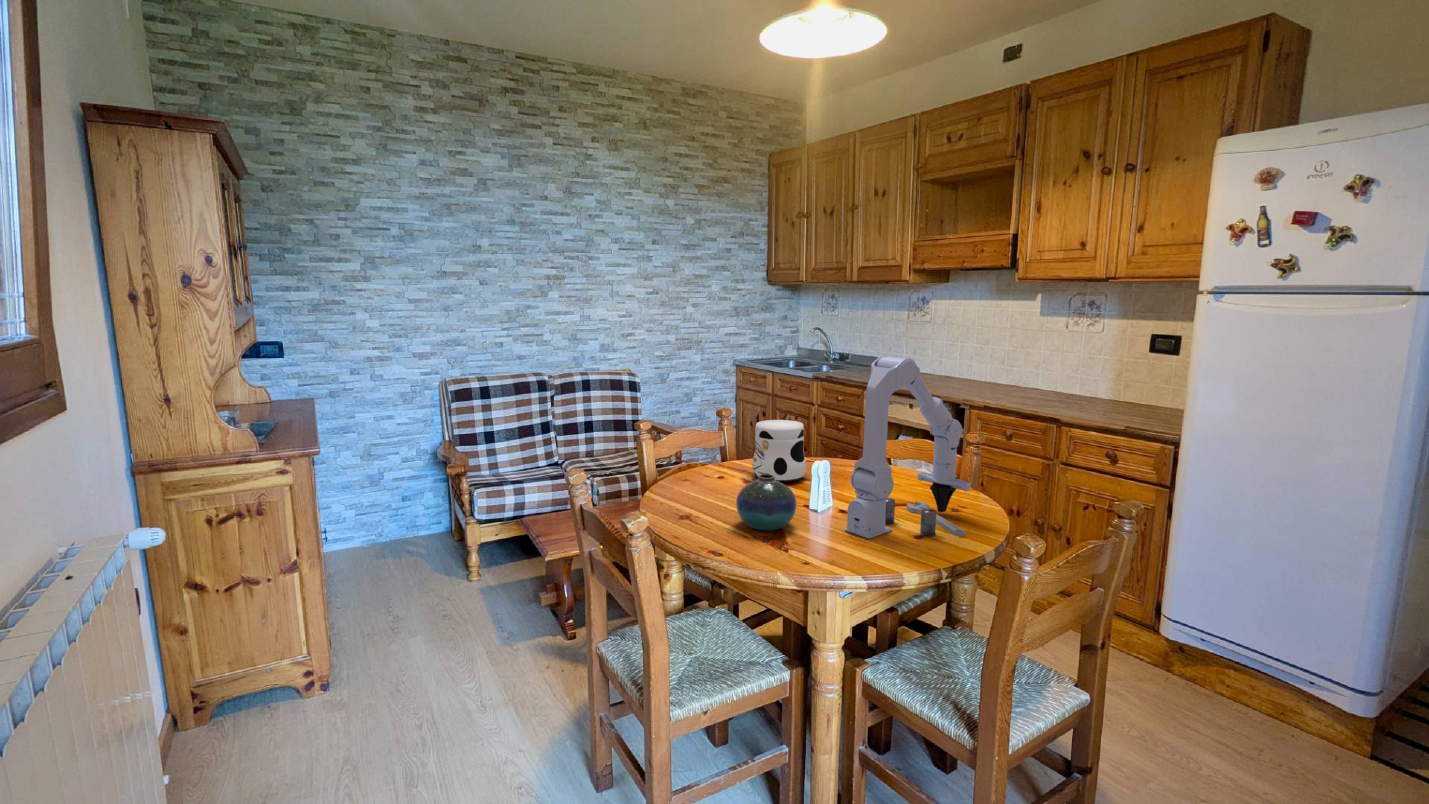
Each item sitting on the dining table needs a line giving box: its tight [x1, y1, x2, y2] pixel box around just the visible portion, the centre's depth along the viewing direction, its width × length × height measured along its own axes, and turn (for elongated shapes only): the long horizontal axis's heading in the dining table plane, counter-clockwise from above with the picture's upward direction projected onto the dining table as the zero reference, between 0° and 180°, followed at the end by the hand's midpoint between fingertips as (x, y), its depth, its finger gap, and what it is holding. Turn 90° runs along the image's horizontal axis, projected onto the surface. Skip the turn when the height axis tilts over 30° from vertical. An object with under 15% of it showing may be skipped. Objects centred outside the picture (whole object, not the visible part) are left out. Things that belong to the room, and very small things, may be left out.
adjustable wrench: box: [906, 500, 966, 538], centre depth 176 cm, size 25×6×2 cm, turn 7°
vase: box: [735, 474, 798, 532], centre depth 170 cm, size 15×15×13 cm
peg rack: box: [885, 497, 937, 538], centre depth 170 cm, size 4×16×6 cm, turn 40°
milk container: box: [751, 419, 807, 483], centre depth 215 cm, size 17×17×18 cm
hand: (941, 511), depth 180 cm, fingers closed
